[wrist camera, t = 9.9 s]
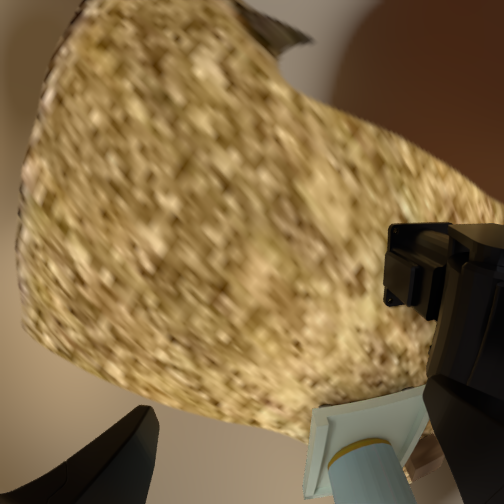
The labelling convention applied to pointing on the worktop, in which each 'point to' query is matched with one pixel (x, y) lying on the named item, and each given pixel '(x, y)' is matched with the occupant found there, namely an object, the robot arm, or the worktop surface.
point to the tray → (362, 432)
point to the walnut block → (424, 458)
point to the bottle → (368, 474)
